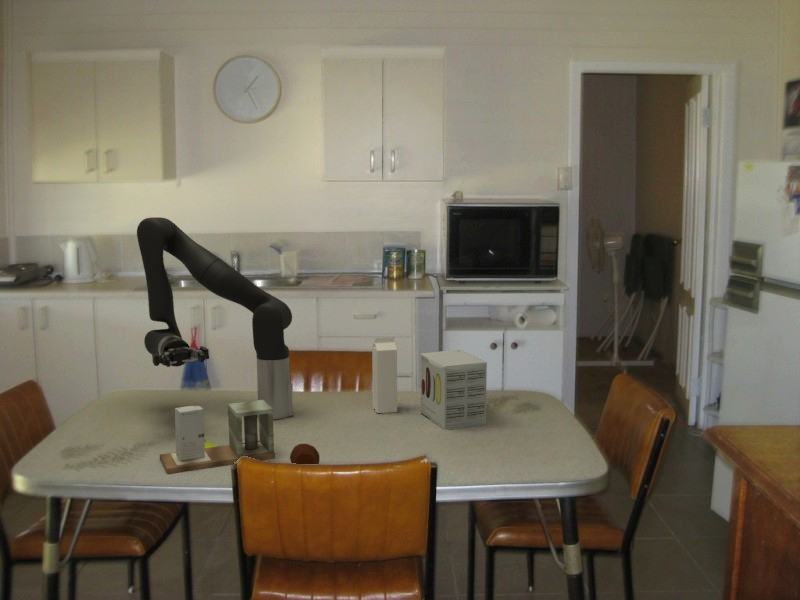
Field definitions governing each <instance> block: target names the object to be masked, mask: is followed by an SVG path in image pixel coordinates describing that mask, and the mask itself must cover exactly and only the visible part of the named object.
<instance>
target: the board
mask: <svg viewBox="0 0 800 600" xmlns="http://www.w3.org/2000/svg"><path fill="white" fill-rule="evenodd" d="M258 415H259V416H258ZM227 416H228V417H227V418H228V421H227V422H228V444H224V445H219V446H218V445H217V446H210V447H205V456H204V457H201V458H195V459H189V460H183V461H181V460H180V459H179V458H178V457H177V456H176V451H175V452H170V453H169V452H167V453H161V454H159V461H160V460H161V461H160V462H162V463H161V464H163V465H162V467H163V466H164V467H163V468H164V470H165V472H166V474H167V475H169V474H175V473H182V472H188V471H189V470H190V471H195V470H194V469H196V470H202V469H201V468H203V469H209V468H215V467H223V466H228V465H229V464H230V465H233V464H232V463H234V462H236V461H237V460H238V459H239V458H240V457H241V456H248V457H251V458H255V459H260V460H259V461H264V460H268V459H275V458H276V453H275V440H274V439H275V438H274V435H275V434H274V432H275V431H274V419H273V408H271V407H270V406H269V405H268V404H267V403H266V402H265V401H264V400H258V399H257V400H250V401H240V402H234V403H233V402H232V403H227ZM242 420H243V422H242ZM243 427H244V428H243ZM243 429H244V431H243ZM258 431H259V432H258ZM243 432H244V442H243ZM258 434H259V435H258ZM222 465H223V466H222Z"/></svg>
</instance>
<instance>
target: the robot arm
mask: <svg viewBox="0 0 800 600" xmlns="http://www.w3.org/2000/svg"><path fill="white" fill-rule="evenodd" d="M136 237H137V242H138V247H139V251H140V255H141V261H142V264H143V270H144V275H145V281H146V287H147V297H148V298H147V299H148V300H147V301H148V303H147V304H148V313H149V315H148V316H149V319H150V320H151V321H153V322H160V323H165V324H166V325H167V327H168V328H163V329H161V328H160V329H152V330H149V331H148V332H147V333H146V334H145V335H144V336H145V337H144V342H143V343H144V347H145V350H146V351H147V352H148V353H149V354H150V355H151V358H152V359H151V361H152V364H153V366H155V367H158V366H160V364H161V365H162V366H166V368H170V367H175V368H176V367H181V366H184V365H185V364H186V363H188V362H190V363H191V362H196V361H198V362H200V363H204V361H206V360H209V359H210V353H209V352H210V350H209V348H207V347H205V346H201V345H200V346H199V347H198V349H196V347H190V345H189V343H188V342H186V340H184V339H183V337H182V333H181V331H180V329H179V326H178V323H177V319H176V316H175V306H174V305H175V304H174V293H173V288H172V285H171V282H170V279H169V277H168V275H167V271H166V268H165V267H166V266H165V262H164V252H165V253H168V254H170V256H173V257H174V258H176V259H177V260H179V261H180V262H181V263H182V264H183V265H184V267H185V268H186V270H187V271H188V272H189V273H190V274H191V276H192V278H193V279H194V280H195V281H197V282H198V284H200V285H202V286H203V287H204V288H206V289H207V290H208V291H209V292H211V293H212V294H214V295H216V296H218V297H220V298H222V299H225V300H227V301H229V302H232V303H235V304H238V305H240V306H242V307H244V308H245V309H247V310H248V311H250V312H251V313H252V317H251V319H252V322H251V323H252V325H251V326H252V339H253V340H252V341H253V347H254V350H255V354H256V378H257V379H256V380H257V383H256V384H257V385H256V387H257V400H264V401H265V402H266V403H267V404H268V405H269V406H270V407H271V408H273V420H282V419H285V418H288V417H291V416H293V384H292V383H291V382H290V349H289V347H288V346H287V345H286V344H285V333H284V330H286V329H287V328H288V327H289V326H290V325H291V324H292V321H293V313H292V311H291V309H290V307H289V306H288V304H286V303H285V302H284V301H283V300H281V299H279V298H277V297H275V296H274V295H272V294H270V293H269V292H267V291H265V290H264V289H262V288H260V287H258V285H256V284H254V282H252V281H250V279H249V278H247V277H245V276H244V275H243V274H241V273H240V272H239V271H237V270H236V269H235V268H233V267H232V266H231V265H230V264H228V263H227V262H226V261H225V260H223V259H222V258H220V257H218V256H217V255H216V254H214V253H212V252H211V251H209V250H208V249H207V248H206V247H204V246H202V245H200V244H199V243H198V242H196V241H195V240H194V239H192V238H191V237H190V236H189V235H187V234H186V233H185V232H184V231H183V230H182V229H181V228H180V227H179V226H178V225H176V223H174V221H172V220H170V219H168V218H167V217H166V218H165V217H158V216H157V217H153V216H152V217H151V216H150V217H145V218H144V219H142V220H141V221H140V222H139V223H138V225H137V227H136ZM257 417H259V415H257Z"/></svg>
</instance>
